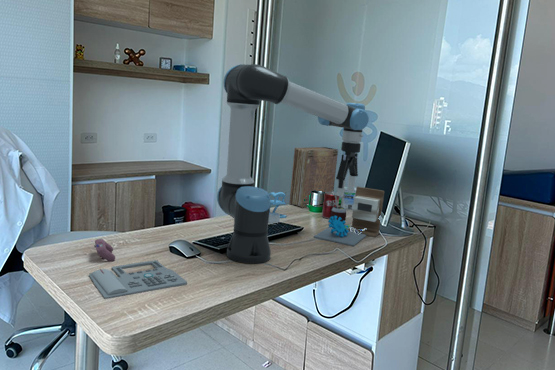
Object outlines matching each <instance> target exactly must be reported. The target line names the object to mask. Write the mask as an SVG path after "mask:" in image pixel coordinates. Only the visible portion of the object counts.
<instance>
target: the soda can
mask: <svg viewBox="0 0 555 370" xmlns="http://www.w3.org/2000/svg"><path fill="white" fill-rule="evenodd" d="M333 192H334V193H335V195H336V196H337V192H335V191H333ZM333 192H325V194H324V202H323V205H322V213H321V216H322V218H323V219H327V220H330V217H331V211H332V208H333V207H337V205H336V199H335V195H334V193H333ZM339 202H340V196H337V204H338V206H340V205H339V204H340V203H339Z"/></svg>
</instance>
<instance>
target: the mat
mask: <svg viewBox="0 0 555 370" xmlns="http://www.w3.org/2000/svg"><path fill="white" fill-rule="evenodd" d="M332 229H334V228H332V227H329V226H328V227H326V228H325V229H323V230H322V231H319V232H318V233H317V234H314V235H313V238H314V239H318V240H322V241H327V242H330V243H331V242H332V243H335V244H342V245H346V246H350V247H355V246H356V245H357V244H359V243H360V242H361V241H362V240H363V239H365V238H366V237H367V235H365V234H359V235H358V234H355V233H353V232H350V231H349V232H348V233H346V234H347V236H344V233H343V237H340V235H341V233H339V235H338V236H336V235H335V234H336V233H337V231H334V232H333V233H331V230H332Z"/></svg>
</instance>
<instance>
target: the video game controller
mask: <svg viewBox="0 0 555 370" xmlns="http://www.w3.org/2000/svg"><path fill="white" fill-rule="evenodd" d="M94 243H95V244H94V248H95V250H96V252H97V254H98V255H99V258H101V259H102V260H103V259H104V260H106V261H108V262H115V260H116V256H115V254H114V253H112V252H113V251H114V247H113V246H112V245H111V244H109V243H107V242H106V241H105V240H104V239H102V238H98V239H95V240H94Z"/></svg>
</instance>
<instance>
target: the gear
mask: <svg viewBox="0 0 555 370" xmlns="http://www.w3.org/2000/svg"><path fill="white" fill-rule="evenodd" d="M336 218H337V216H334V219H333V216H332V217H330V219H328V220H327V221H328V223H329V224H328V227H331V228H334V229H332V230H331V233H333V232H334V231H337V233H336V234H335V235H336V236H338V235H339V233H341V235H340V237H343V233H344V236H347V234H346V233H348V232H349V230H348V229H349V228H350V227H351V226H350V224H346V220H345V221H343V222H341V221H340V220H341V219H342V218H341V217H339V218H338V220H337V219H336Z"/></svg>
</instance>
